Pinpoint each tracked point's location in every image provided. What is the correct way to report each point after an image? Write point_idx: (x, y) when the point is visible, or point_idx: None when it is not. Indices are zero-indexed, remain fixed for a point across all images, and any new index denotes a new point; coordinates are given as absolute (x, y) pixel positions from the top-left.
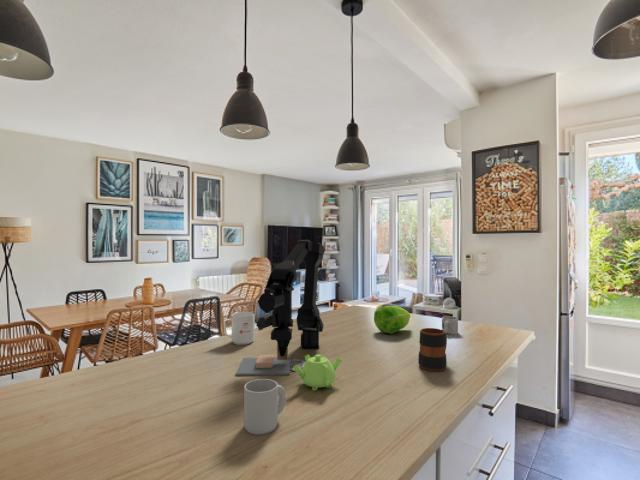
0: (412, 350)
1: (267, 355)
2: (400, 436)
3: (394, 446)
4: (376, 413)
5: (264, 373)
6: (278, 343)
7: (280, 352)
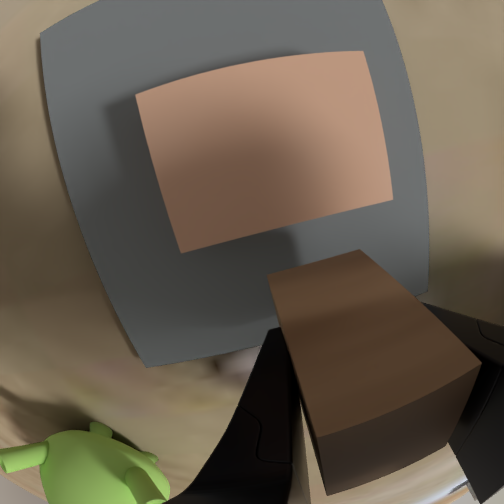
0: (415, 494)
1: (375, 137)
2: (36, 490)
3: (15, 479)
4: None
5: (78, 217)
6: (214, 460)
7: (261, 358)
